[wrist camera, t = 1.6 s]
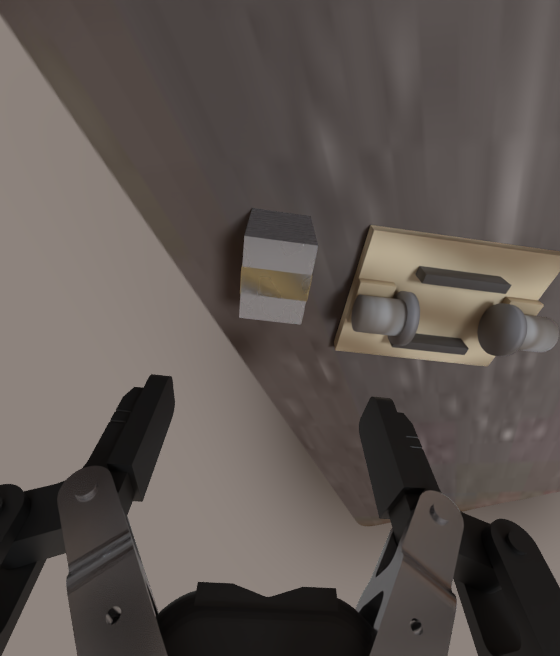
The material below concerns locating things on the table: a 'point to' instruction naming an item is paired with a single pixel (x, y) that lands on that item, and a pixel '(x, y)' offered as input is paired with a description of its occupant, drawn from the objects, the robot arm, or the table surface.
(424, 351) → the beige flat board
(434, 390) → the table surface
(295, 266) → the block
